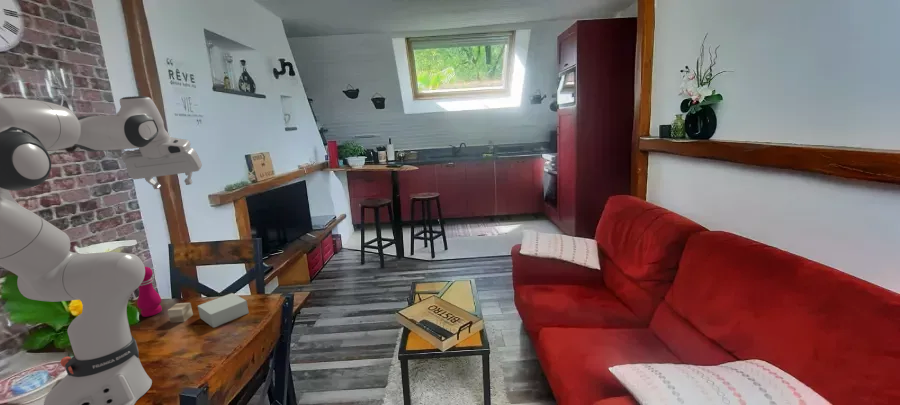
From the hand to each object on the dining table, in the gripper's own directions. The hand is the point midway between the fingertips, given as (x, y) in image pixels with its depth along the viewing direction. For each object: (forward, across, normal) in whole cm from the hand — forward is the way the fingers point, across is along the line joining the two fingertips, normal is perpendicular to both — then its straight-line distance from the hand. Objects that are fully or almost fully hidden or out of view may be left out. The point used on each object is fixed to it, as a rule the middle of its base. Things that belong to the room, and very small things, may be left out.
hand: (173, 186), depth 129 cm
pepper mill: (+50, -25, -1) cm, 56 cm away
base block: (+47, +4, -14) cm, 50 cm away
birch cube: (+48, -11, -10) cm, 50 cm away
